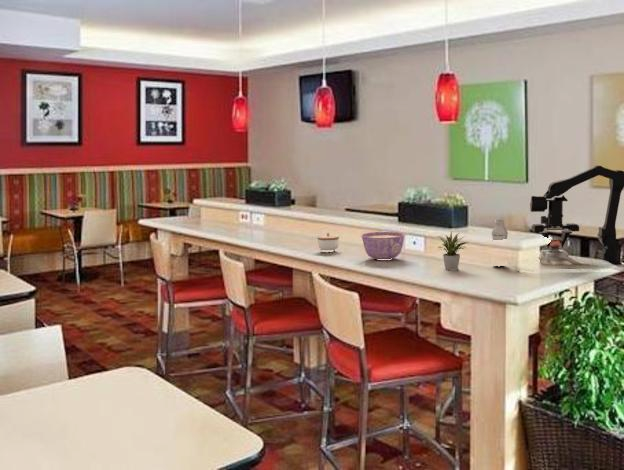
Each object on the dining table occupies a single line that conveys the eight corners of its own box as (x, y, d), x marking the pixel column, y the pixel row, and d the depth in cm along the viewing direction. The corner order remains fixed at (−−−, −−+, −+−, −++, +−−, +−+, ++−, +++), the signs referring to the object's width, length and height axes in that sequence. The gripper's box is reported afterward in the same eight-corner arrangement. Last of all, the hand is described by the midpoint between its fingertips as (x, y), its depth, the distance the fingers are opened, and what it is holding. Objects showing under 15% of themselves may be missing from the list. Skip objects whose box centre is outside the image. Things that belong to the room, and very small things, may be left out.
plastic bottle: (495, 265, 300) (495, 219, 298) (509, 266, 296) (510, 219, 293) (488, 267, 296) (488, 220, 293) (503, 269, 291) (503, 221, 289)
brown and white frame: (569, 260, 306) (570, 249, 305) (583, 268, 288) (583, 256, 287) (532, 261, 307) (532, 250, 306) (543, 268, 289) (543, 257, 288)
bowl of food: (404, 263, 311) (404, 237, 310) (359, 263, 314) (359, 237, 313) (405, 255, 331) (405, 231, 329) (363, 255, 334) (363, 231, 332)
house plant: (441, 273, 285) (441, 234, 283) (426, 268, 298) (426, 230, 296) (472, 271, 289) (472, 232, 287) (457, 265, 302) (457, 228, 300)
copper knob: (559, 258, 304) (559, 238, 302) (563, 260, 298) (563, 240, 297) (546, 258, 304) (546, 238, 303) (549, 260, 298) (550, 240, 297)
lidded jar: (329, 249, 356) (328, 231, 355) (343, 251, 348) (343, 233, 347) (313, 252, 349) (312, 233, 348) (327, 254, 341) (327, 235, 340)
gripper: (571, 209, 306) (571, 244, 308) (528, 210, 307) (528, 245, 309) (580, 211, 295) (579, 248, 297) (535, 212, 296) (534, 249, 298)
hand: (554, 247), depth 300 cm, fingers closed on copper knob, 6 cm apart
